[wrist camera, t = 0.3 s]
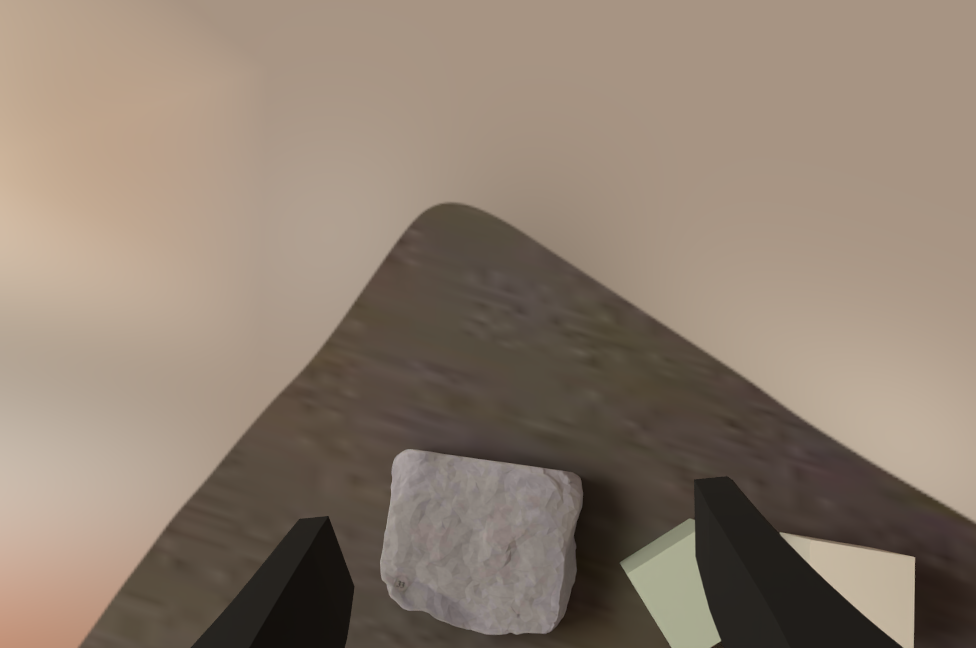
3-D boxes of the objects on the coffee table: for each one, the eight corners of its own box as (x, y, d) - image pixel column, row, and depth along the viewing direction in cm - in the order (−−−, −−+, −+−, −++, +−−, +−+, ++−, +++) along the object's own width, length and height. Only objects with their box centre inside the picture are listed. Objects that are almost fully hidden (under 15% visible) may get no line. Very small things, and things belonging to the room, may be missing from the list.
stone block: (573, 621, 40) (587, 460, 40) (569, 658, 35) (585, 475, 35) (390, 590, 42) (405, 438, 42) (364, 621, 37) (380, 449, 38)
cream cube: (867, 639, 36) (913, 663, 31) (774, 621, 37) (805, 643, 32) (869, 547, 37) (914, 557, 32) (779, 532, 38) (810, 539, 33)
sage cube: (740, 595, 37) (765, 612, 33) (667, 641, 37) (682, 665, 32) (689, 518, 39) (707, 523, 34) (619, 562, 39) (626, 574, 34)
